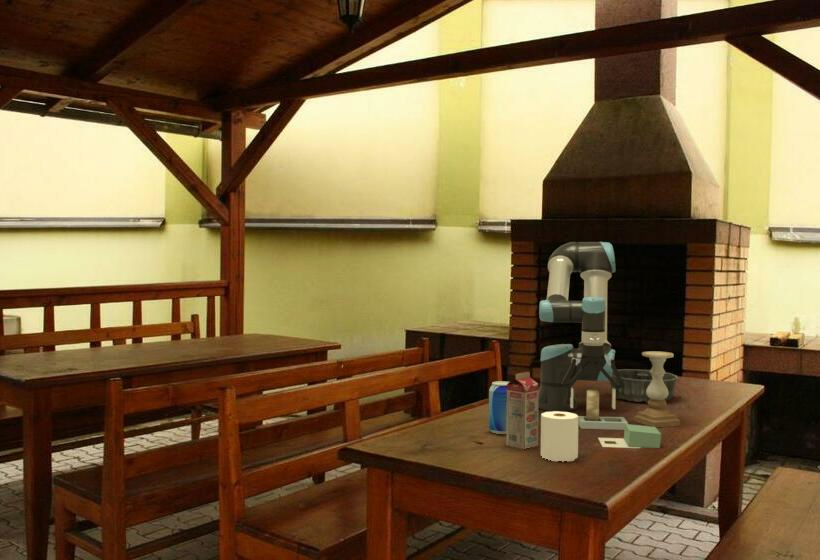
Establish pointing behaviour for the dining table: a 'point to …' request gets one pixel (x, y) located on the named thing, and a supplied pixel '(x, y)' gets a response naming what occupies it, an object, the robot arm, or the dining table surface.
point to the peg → (592, 405)
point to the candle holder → (657, 395)
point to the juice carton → (522, 411)
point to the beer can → (498, 407)
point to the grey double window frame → (603, 423)
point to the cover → (642, 436)
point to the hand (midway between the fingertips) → (592, 407)
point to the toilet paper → (559, 436)
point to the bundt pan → (641, 384)
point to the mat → (620, 442)
